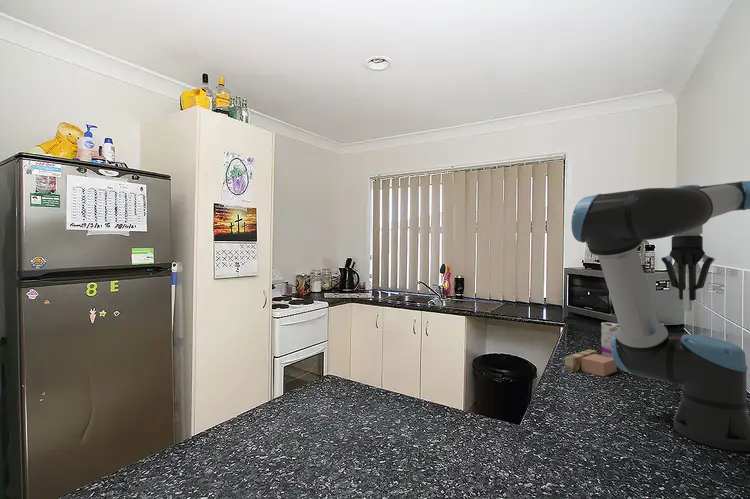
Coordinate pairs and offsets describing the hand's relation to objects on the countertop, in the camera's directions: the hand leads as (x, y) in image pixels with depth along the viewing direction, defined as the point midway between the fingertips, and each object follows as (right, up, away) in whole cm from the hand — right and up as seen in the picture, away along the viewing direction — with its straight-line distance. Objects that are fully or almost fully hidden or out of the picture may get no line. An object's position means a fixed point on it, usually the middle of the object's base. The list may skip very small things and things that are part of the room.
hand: (687, 310), depth 117 cm
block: (-13, -27, +24) cm, 38 cm away
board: (-17, -27, +29) cm, 43 cm away
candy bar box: (-2, -27, +30) cm, 40 cm away
